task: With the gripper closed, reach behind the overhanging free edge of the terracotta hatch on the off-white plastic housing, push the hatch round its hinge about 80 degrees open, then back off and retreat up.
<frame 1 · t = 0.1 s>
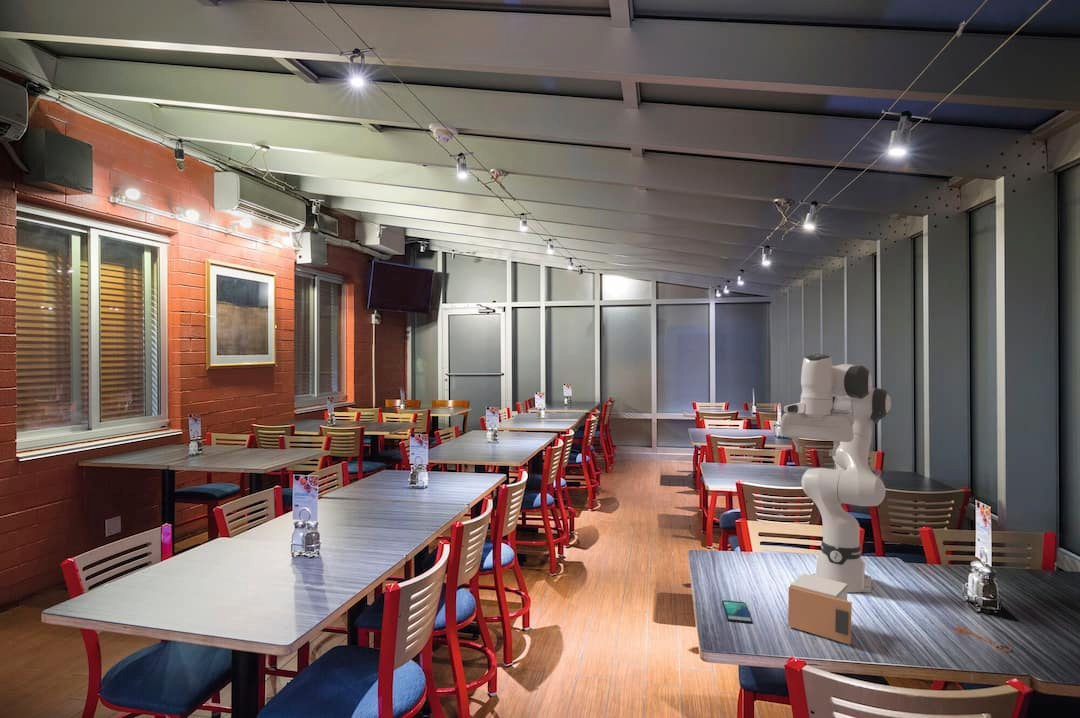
hand: (815, 454, 179), 48 cm above the table, tool pointing down, fingers open, 8 cm apart
hatch: (818, 614, 163), point 6 cm above the table, hinge at 0.0°
housing: (818, 625, 170), on the table
key: (979, 641, 163), on the table
smartphone: (736, 614, 178), on the table
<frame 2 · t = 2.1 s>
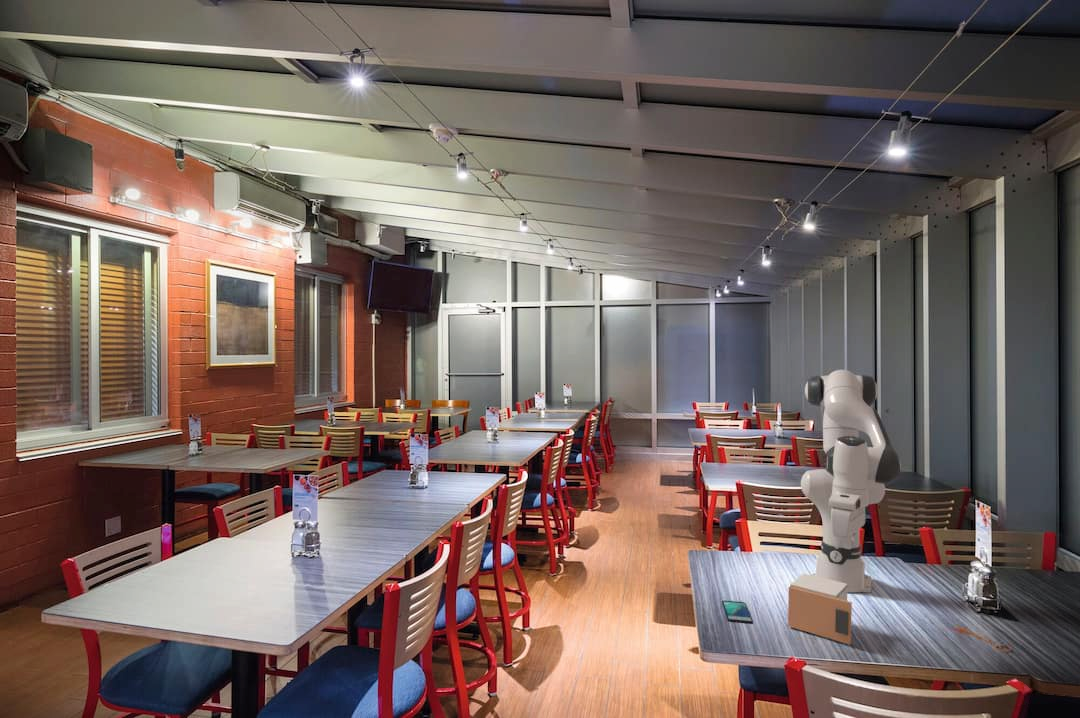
hand: (849, 547, 162), 25 cm above the table, tool pointing down, fingers closed
nothing on the table moved.
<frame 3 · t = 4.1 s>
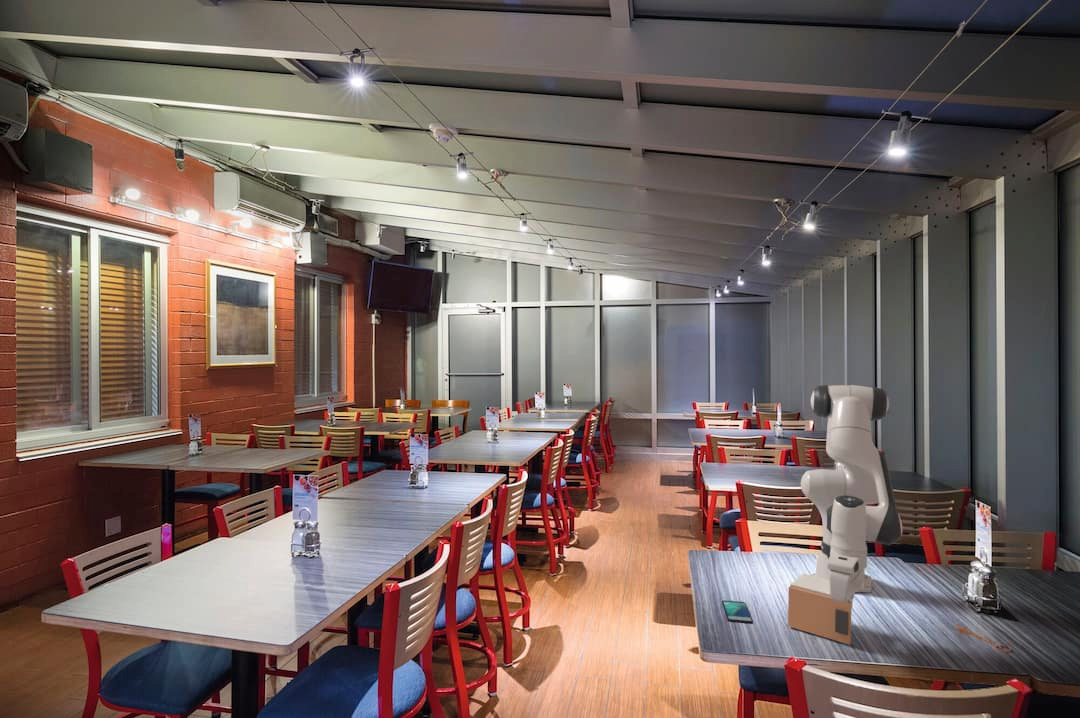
hand: (847, 608, 161), 9 cm above the table, tool pointing down, fingers closed
hatch: (818, 614, 163), point 6 cm above the table, hinge at 0.4°, touching gripper
everything else where it was.
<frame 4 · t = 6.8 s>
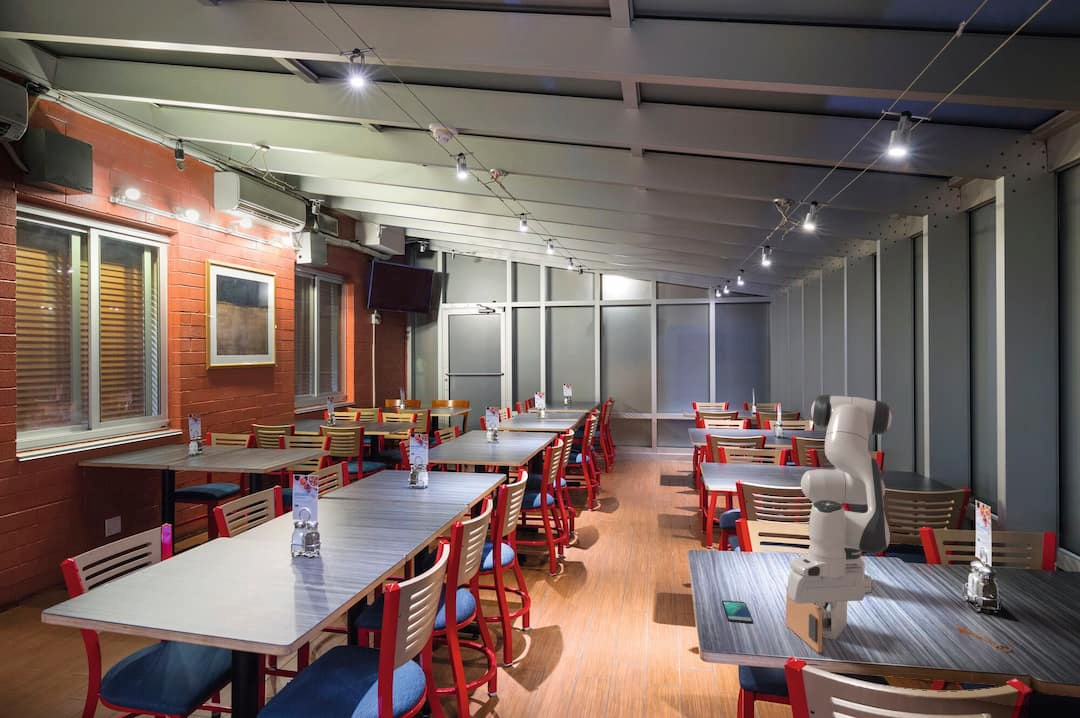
hand: (825, 617, 155), 9 cm above the table, tool pointing down, fingers closed
hatch: (802, 617, 161), point 6 cm above the table, hinge at 43.0°, touching gripper
everything else where it was.
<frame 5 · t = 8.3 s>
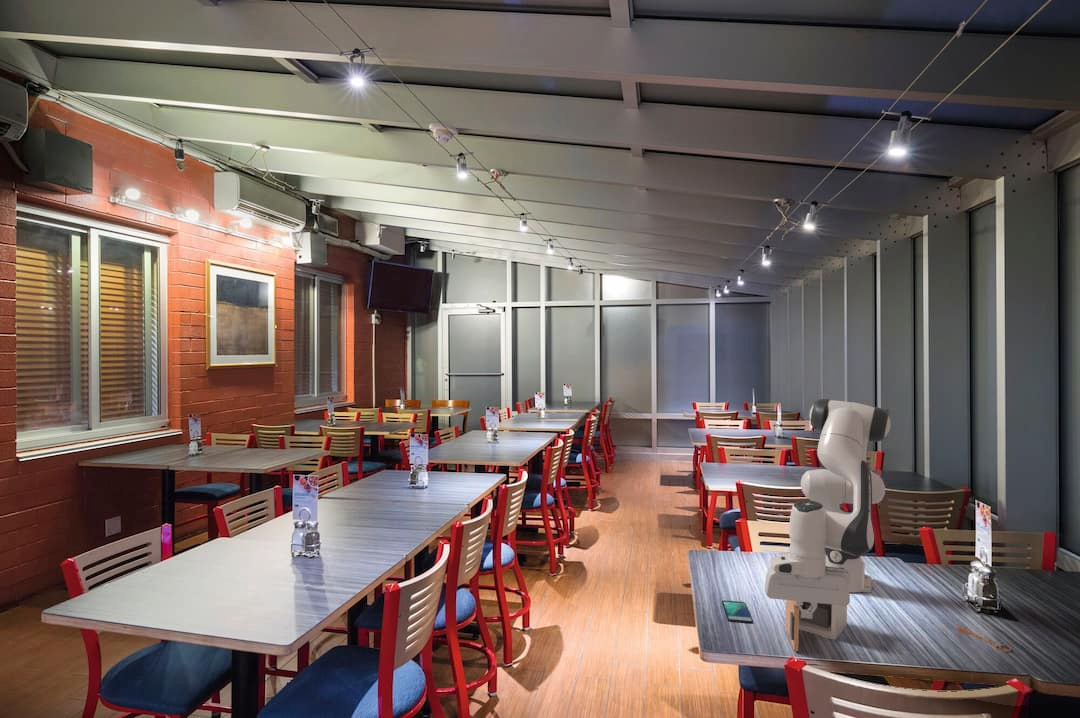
hand: (806, 617, 154), 9 cm above the table, tool pointing down, fingers closed
hatch: (790, 616, 161), point 6 cm above the table, hinge at 64.2°, touching gripper
everything else where it was.
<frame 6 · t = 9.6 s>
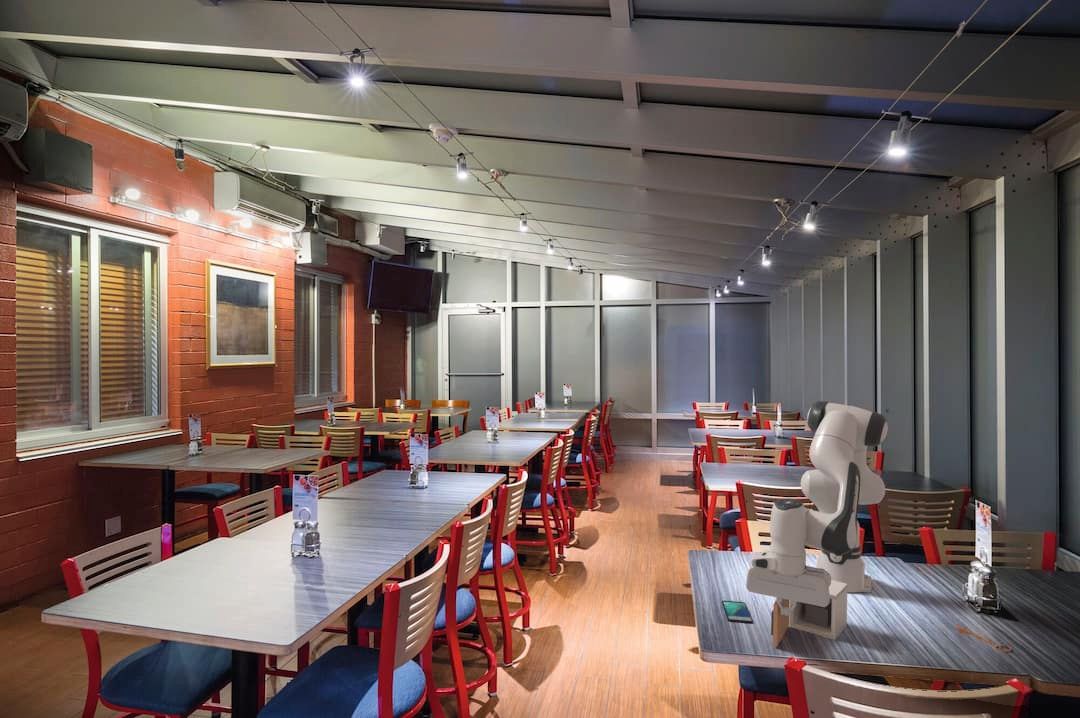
hand: (786, 615, 156), 9 cm above the table, tool pointing down, fingers closed
hatch: (780, 614, 163), point 6 cm above the table, hinge at 82.7°, touching gripper
everything else where it was.
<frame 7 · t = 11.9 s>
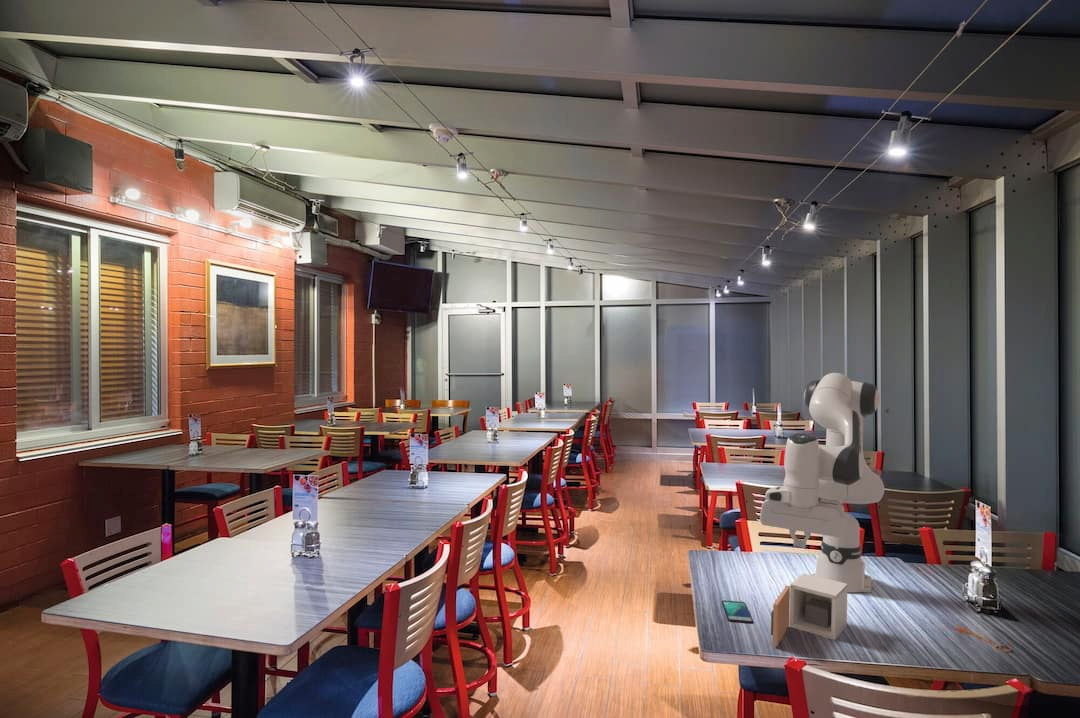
hand: (799, 546, 159), 26 cm above the table, tool pointing down, fingers closed
hatch: (780, 614, 163), point 6 cm above the table, hinge at 82.9°
everything else where it was.
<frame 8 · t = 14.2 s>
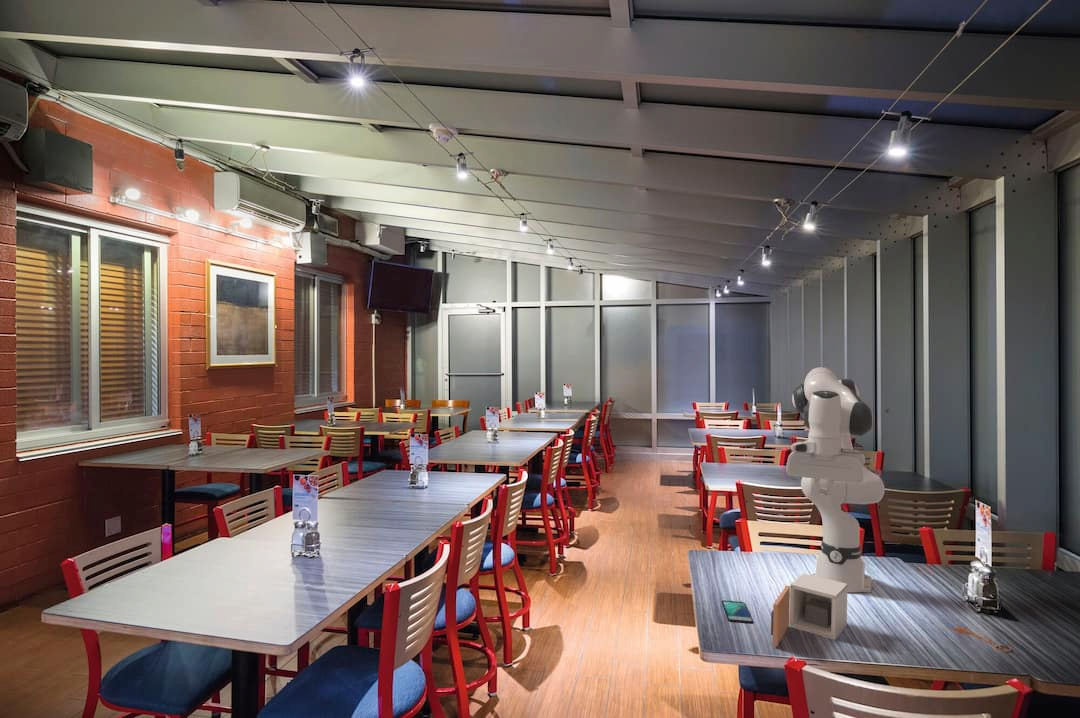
hand: (823, 494, 172), 37 cm above the table, tool pointing down, fingers closed
nothing on the table moved.
at the end: hatch at +83° (first picture: +0°); the gripper is holding nothing; smartphone moved 0.6 cm from its start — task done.
